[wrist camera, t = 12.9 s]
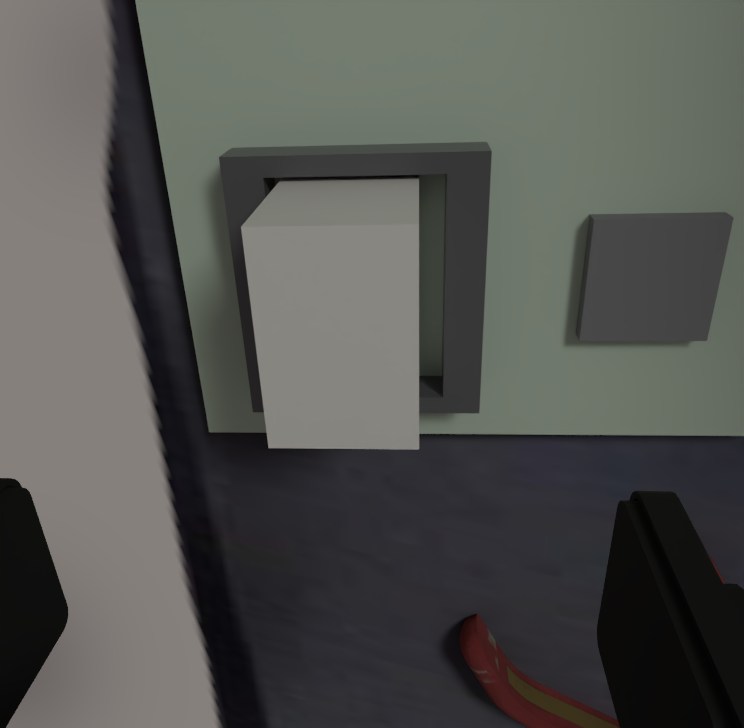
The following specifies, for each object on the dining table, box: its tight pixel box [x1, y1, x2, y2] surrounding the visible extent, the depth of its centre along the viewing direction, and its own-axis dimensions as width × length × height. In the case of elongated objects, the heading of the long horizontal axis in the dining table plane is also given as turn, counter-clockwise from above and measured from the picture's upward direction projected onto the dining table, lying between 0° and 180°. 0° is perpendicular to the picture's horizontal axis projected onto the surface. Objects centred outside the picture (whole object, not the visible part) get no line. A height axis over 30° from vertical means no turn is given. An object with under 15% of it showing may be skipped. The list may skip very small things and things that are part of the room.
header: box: [219, 142, 492, 413], centre depth 21 cm, size 8×9×2 cm
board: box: [135, 0, 744, 436], centre depth 19 cm, size 20×22×2 cm
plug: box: [241, 175, 419, 449], centre depth 19 cm, size 4×7×6 cm, turn 2°
